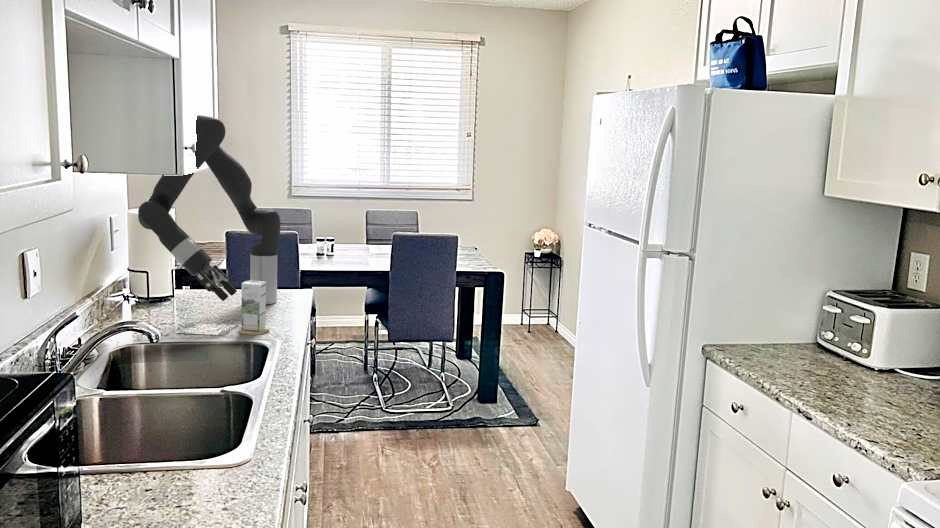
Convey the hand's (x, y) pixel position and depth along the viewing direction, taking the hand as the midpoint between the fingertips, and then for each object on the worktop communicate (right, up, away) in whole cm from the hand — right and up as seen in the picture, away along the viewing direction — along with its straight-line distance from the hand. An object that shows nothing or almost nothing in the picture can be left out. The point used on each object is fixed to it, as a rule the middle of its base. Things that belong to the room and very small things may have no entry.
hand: (230, 296), depth 219 cm
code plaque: (-7, -10, +1) cm, 13 cm away
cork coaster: (+7, -11, +2) cm, 13 cm away
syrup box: (+6, -10, +2) cm, 12 cm away
